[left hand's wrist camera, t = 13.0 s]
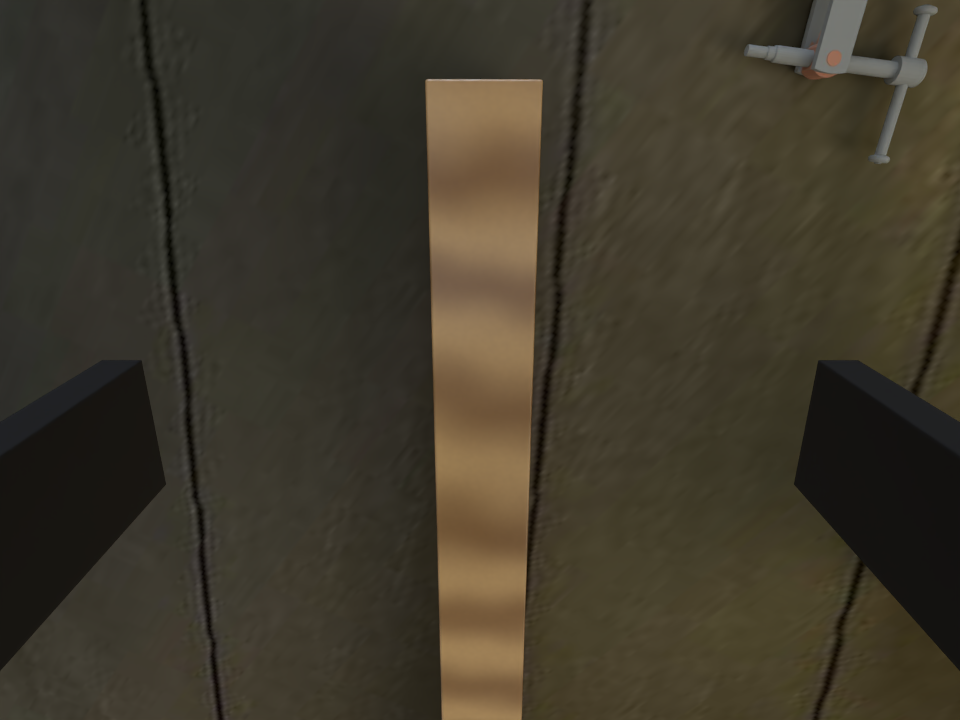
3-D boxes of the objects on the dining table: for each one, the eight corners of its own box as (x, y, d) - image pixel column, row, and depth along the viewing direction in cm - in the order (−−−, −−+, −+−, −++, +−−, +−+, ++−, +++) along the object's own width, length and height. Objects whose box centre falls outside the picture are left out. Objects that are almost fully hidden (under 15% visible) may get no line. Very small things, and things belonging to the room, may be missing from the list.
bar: (438, 91, 32) (425, 79, 24) (527, 91, 32) (542, 79, 24) (451, 778, 50) (446, 903, 42) (509, 778, 50) (515, 903, 42)
